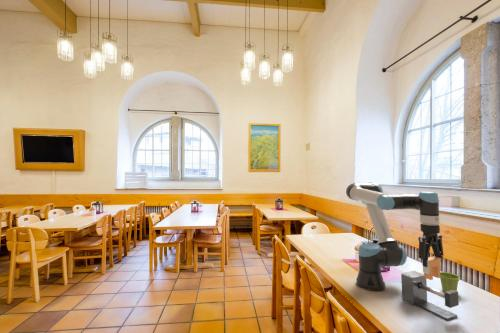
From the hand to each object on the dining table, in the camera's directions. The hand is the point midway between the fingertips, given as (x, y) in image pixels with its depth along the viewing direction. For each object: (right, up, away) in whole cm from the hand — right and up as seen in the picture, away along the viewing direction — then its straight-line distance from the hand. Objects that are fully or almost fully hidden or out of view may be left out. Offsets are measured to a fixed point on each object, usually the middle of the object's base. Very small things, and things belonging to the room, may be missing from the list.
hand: (431, 272), depth 116 cm
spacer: (0, -3, 0) cm, 3 cm away
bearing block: (-1, -18, +1) cm, 18 cm away
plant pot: (+23, -19, +18) cm, 35 cm away
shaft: (+1, -12, -2) cm, 12 cm away
